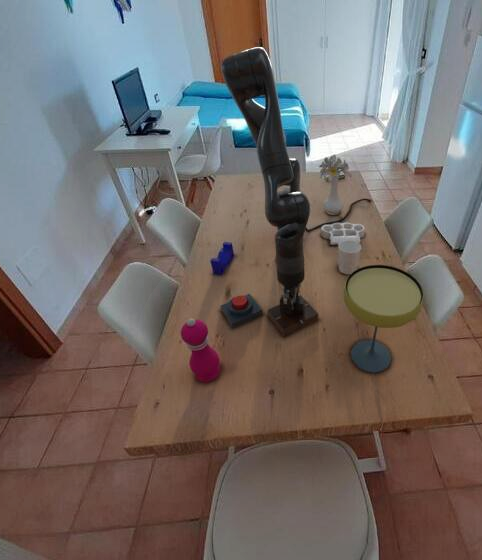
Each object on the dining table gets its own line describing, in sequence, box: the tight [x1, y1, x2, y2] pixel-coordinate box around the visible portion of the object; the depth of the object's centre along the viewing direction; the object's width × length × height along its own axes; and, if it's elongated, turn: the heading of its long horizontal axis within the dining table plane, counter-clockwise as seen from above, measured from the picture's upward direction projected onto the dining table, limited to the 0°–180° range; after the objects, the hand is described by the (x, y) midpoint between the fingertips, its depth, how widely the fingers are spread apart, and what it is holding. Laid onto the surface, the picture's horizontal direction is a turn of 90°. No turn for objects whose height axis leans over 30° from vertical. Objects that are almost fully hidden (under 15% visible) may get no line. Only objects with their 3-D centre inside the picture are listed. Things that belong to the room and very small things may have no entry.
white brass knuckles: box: [320, 222, 366, 246], centre depth 136 cm, size 3×18×15 cm
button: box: [232, 295, 248, 309], centre depth 100 cm, size 4×4×2 cm
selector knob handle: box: [279, 294, 306, 316], centre depth 98 cm, size 7×2×5 cm, turn 79°
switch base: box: [266, 294, 319, 338], centre depth 100 cm, size 12×11×3 cm
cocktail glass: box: [342, 264, 425, 374], centre depth 83 cm, size 18×18×25 cm
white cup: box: [337, 240, 362, 275], centre depth 117 cm, size 8×8×10 cm
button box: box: [219, 293, 264, 329], centre depth 102 cm, size 10×9×4 cm
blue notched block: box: [210, 241, 235, 276], centre depth 120 cm, size 12×4×6 cm, turn 169°
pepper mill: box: [180, 317, 221, 383], centre depth 80 cm, size 7×7×20 cm
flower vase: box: [318, 154, 351, 216], centre depth 145 cm, size 13×18×25 cm
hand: (292, 309), depth 99 cm, fingers open, 5 cm apart
